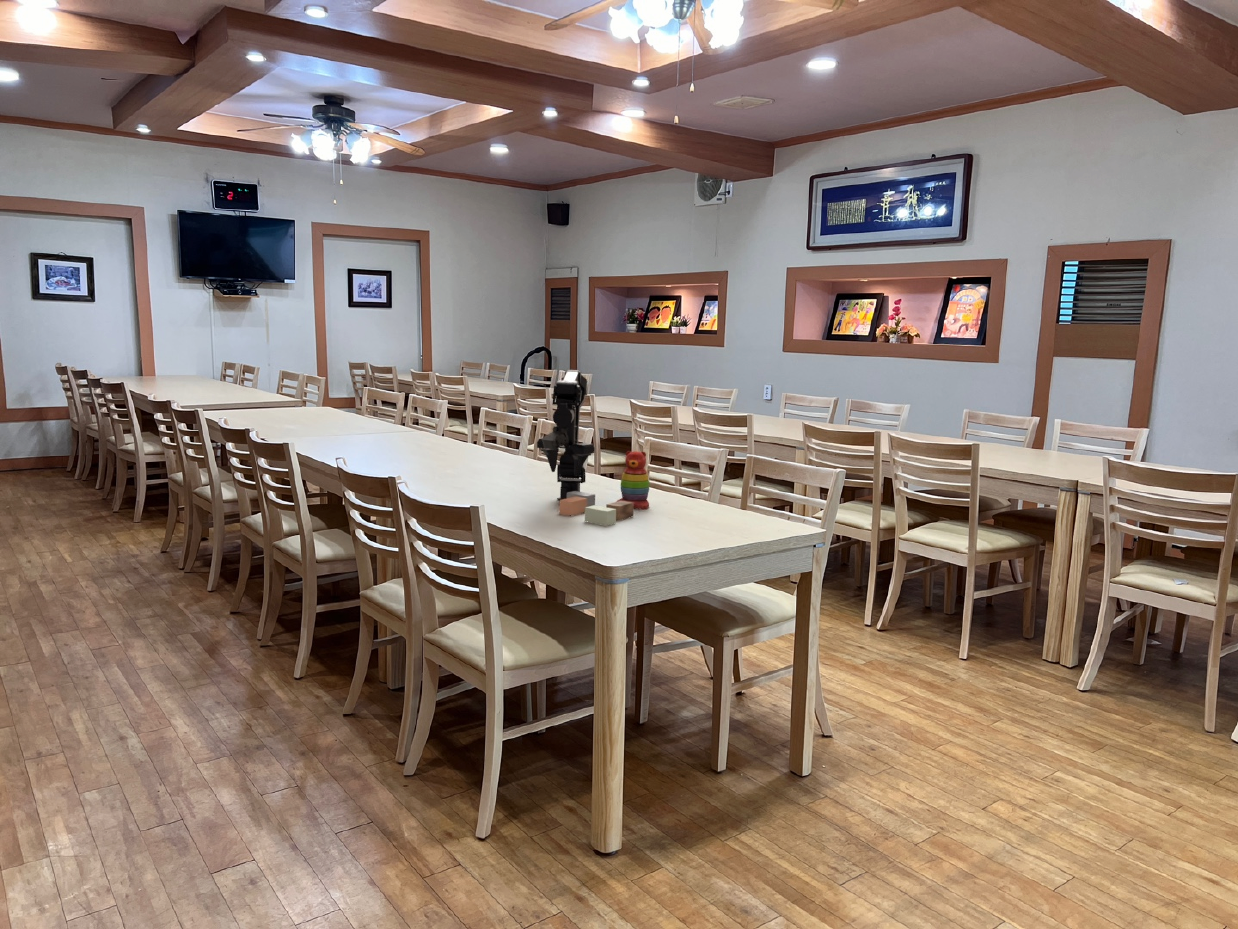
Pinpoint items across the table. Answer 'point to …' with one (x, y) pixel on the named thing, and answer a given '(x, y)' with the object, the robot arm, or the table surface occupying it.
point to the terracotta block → (572, 505)
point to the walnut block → (622, 509)
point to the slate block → (584, 495)
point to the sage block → (600, 515)
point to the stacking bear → (635, 480)
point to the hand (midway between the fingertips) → (564, 473)
